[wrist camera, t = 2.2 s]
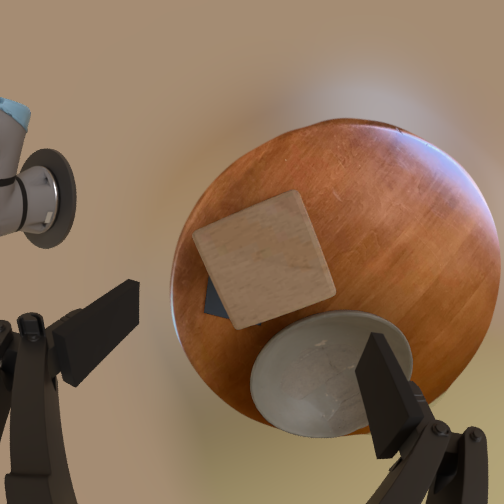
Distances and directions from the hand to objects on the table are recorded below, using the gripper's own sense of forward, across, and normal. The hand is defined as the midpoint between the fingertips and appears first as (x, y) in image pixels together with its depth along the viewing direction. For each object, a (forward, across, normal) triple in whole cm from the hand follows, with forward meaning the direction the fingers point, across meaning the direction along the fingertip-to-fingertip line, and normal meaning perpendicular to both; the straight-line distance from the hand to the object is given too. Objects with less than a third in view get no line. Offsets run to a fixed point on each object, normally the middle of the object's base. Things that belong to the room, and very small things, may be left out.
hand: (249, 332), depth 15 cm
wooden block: (+30, 0, 0) cm, 30 cm away
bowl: (+30, +15, -21) cm, 40 cm away
